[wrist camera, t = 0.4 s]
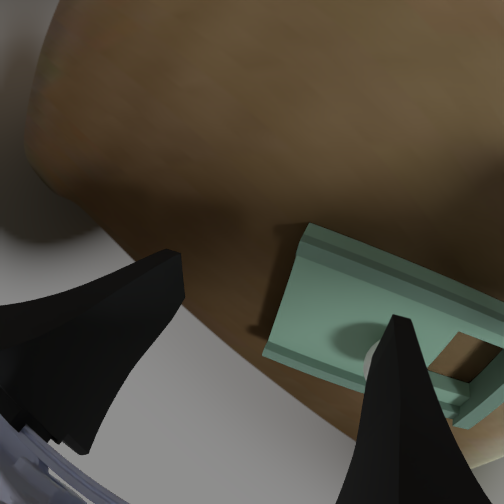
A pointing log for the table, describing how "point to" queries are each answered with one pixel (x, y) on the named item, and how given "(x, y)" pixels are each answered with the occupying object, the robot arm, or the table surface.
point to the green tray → (381, 319)
